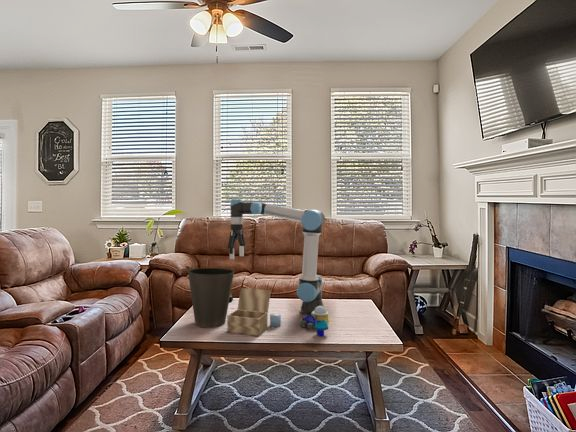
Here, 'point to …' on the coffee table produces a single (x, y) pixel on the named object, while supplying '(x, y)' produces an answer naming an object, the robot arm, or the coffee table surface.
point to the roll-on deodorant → (275, 320)
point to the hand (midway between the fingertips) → (236, 257)
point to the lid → (254, 300)
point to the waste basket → (210, 295)
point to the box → (247, 322)
